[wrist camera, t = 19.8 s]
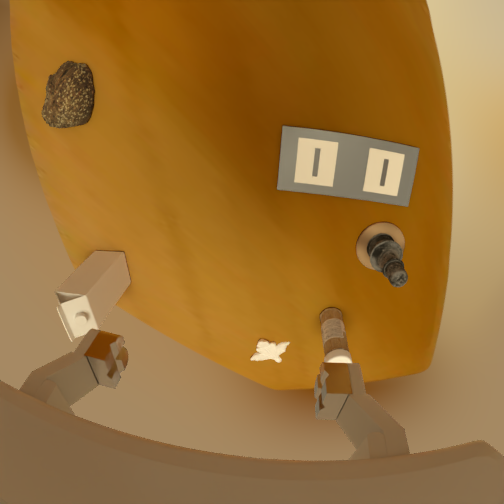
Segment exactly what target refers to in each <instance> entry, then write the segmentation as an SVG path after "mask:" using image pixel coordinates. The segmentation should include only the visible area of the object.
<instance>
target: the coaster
mask: <svg viewBox="0 0 504 504" xmlns="http://www.w3.org/2000/svg"><path fill="white" fill-rule="evenodd" d="M380 233H386V234H389V235H390V236H391V237H392V238H393V239H394V241H395V242H397V243H398V244H399V245H400V246H401V248H402V251H404V246H405V240H404V236H403V234H402V232H401V231H400V230H399V228H398V227H397V226H395V225H394V224H392V223H388V222H377V223H374V224H372V225H370V226H368V227H367V228H366V229H365V230H364V231H363V232H362V233H361V234H360V236H359V238H358V240H357V244H356V253H357V256H358V258H359V260H360V262H361V263H362V264H363V265H364V266H366V267H367V268H370V269H374V268H373V267H372V265H371V263H370V256H369V255H368V253H367V244H368V242H369V240H370V239H371V238H372V237H373V236H374V235H377V234H380ZM374 270H375V269H374Z"/></svg>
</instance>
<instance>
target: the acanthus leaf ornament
mask: <svg viewBox="0 0 504 504" xmlns="http://www.w3.org/2000/svg"><path fill="white" fill-rule="evenodd" d="M289 344H290V342H281V343H279V344H278V345H277V346H276V343H275V342H274V341H272V342H270V343H269V342H268V341H267V340H265V339H260V340H259V342H258V344H257V349H256V351H258V352H257V353H254V354H253V356H252V357H251V359H250V360H254V359H255V361H258V360H266V359H274V360H275V361H276V362H281V361H282V359H281V358H280V357H279V355H280V354H281V353H283V352H285V350H286V347H287V345H289Z"/></svg>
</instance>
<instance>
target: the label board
mask: <svg viewBox="0 0 504 504" xmlns="http://www.w3.org/2000/svg"><path fill="white" fill-rule="evenodd" d="M418 154H419V148H417V147H412V146H408V145H403V144H399V143H394V142H389V141H385V140H379V139H374V138H369V137H363V136H358V135H352V134H345V133H339V132H332V131H325V130H318V129H310V128H301V127H292V126H283V128H282V139H281V151H280V162H279V174H278V185H277V190H286V191H295V192H305V193H313V194H322V195H330V196H338V197H346V198H353V199H360V200H368V201H374V202H381V203H388V204H394V205H400V206H406V207H408V204H409V199H410V195H411V190H412V185H413V181H414V176H415V170H416V165H417V159H418Z"/></svg>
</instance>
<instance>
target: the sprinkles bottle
mask: <svg viewBox="0 0 504 504" xmlns="http://www.w3.org/2000/svg"><path fill="white" fill-rule="evenodd" d="M320 321H321V326H322V327H321V331H322V339H323V347H324V353H325V359H324V362H331V363H352V359H351V354H350V353H349V349H348V344H347V338H346V332H345V327H344V323H343V319H342V313H341V311H340V310H338V309H336V308H328V309H325V310H324V311H323V312H322V313H321V315H320Z"/></svg>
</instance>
